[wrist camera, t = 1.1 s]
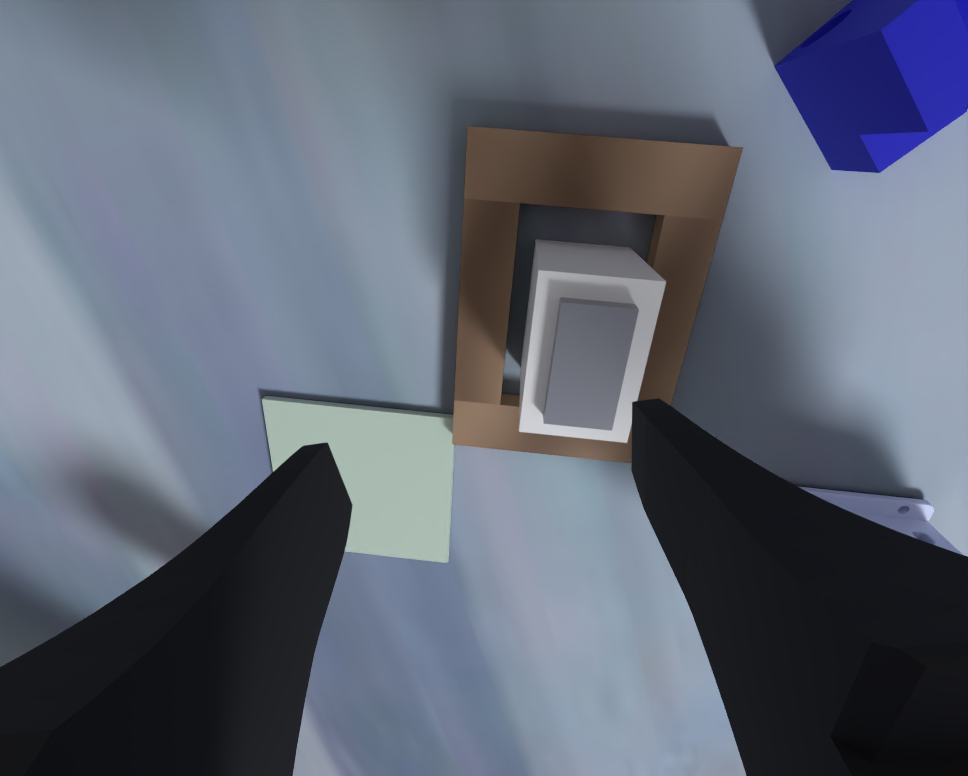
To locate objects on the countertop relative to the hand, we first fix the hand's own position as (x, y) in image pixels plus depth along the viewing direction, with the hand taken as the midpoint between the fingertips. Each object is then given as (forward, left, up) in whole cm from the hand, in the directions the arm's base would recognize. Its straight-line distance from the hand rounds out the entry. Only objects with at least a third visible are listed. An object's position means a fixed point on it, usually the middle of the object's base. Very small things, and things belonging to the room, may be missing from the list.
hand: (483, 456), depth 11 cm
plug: (-3, 0, -12) cm, 12 cm away
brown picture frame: (-3, 0, -12) cm, 12 cm away
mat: (+7, +11, -12) cm, 17 cm away
